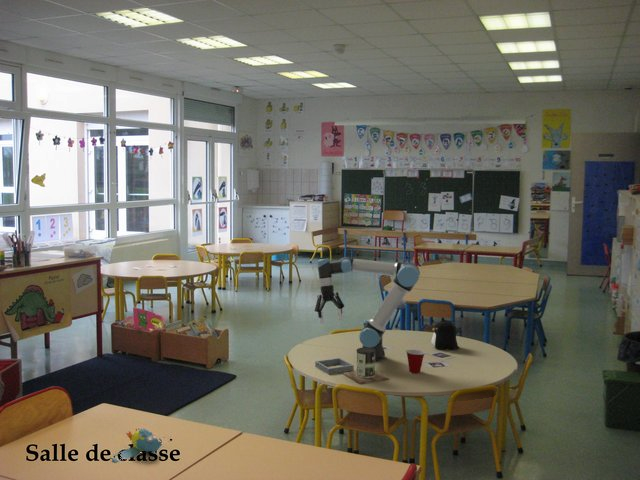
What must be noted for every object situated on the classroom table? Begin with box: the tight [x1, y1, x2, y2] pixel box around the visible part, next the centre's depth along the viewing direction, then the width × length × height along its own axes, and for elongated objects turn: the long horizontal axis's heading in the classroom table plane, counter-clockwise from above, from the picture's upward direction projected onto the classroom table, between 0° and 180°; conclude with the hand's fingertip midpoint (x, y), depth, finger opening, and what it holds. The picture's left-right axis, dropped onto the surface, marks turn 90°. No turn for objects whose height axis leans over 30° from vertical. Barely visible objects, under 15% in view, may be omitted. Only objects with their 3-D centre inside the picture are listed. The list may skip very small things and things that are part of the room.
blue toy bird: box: [112, 428, 163, 464], centre depth 246 cm, size 28×9×15 cm
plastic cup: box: [405, 349, 426, 374], centre depth 350 cm, size 11×11×12 cm
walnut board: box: [342, 370, 390, 385], centre depth 340 cm, size 18×18×1 cm
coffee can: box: [356, 347, 376, 378], centre depth 340 cm, size 10×10×14 cm
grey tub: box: [314, 357, 355, 375], centre depth 355 cm, size 16×16×3 cm
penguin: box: [430, 319, 460, 350], centre depth 401 cm, size 18×18×17 cm
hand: (331, 321), depth 364 cm, fingers open, 13 cm apart
